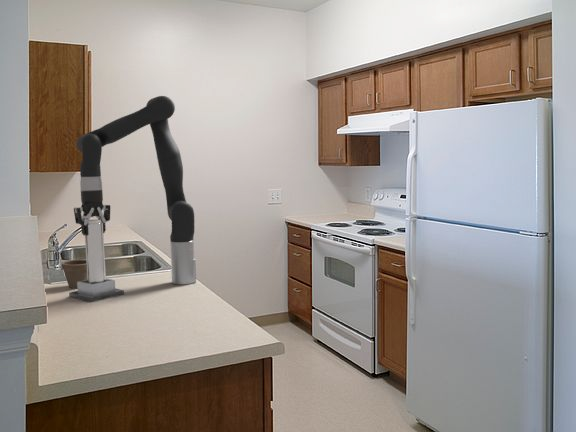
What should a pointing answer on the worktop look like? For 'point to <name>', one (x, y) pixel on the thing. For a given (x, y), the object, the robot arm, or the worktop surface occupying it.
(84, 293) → the duct collar
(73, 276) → the flower pot
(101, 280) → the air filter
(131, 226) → the worktop surface
